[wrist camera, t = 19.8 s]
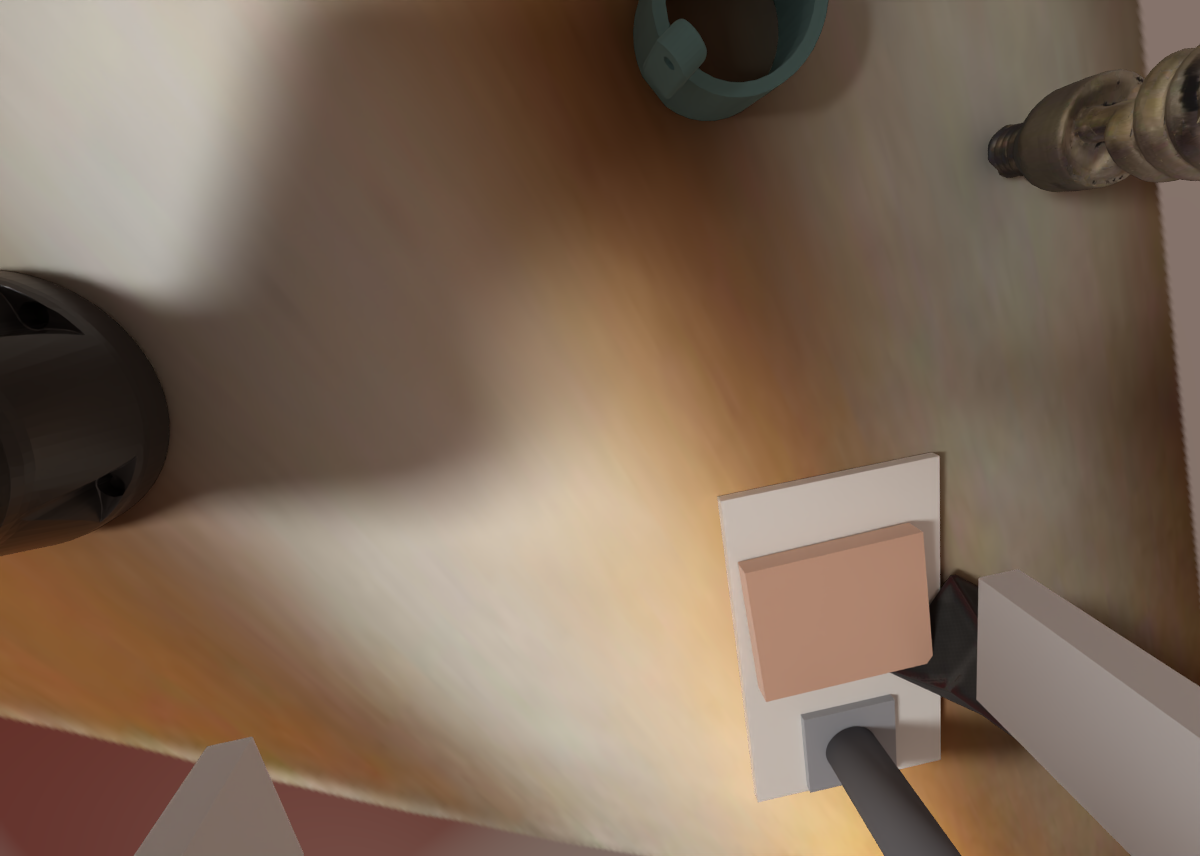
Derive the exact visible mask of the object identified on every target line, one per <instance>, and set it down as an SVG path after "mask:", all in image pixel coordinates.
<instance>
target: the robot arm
mask: <svg viewBox="0 0 1200 856" xmlns="http://www.w3.org/2000/svg"><path fill="white" fill-rule="evenodd" d="M168 443H169V416H168V409H167V404H166V400H165V397H164V393H163V390H162V388H161V385H160V382H159V380H158V378H157V376H156V374H155V372H154V370H153V368H152V366H151V364H150V363H149V361H148V359H147V358H146V356H145V355H144V353H143V352H142V351H141V349H140V348H139V346H138V345H137V344H136V343H135V342H134V340H133V339H132V338H131V337H130V336H129V335H128V334H127V333H126V331H125V330H124V329H123V328H122V327H121V326H119V325H118V324H117V323H116V322H115V321H114V320H113V319H112V318H111V317H109V316H108V315H107V314H106V313H105V312H103V311H102V310H100V309H99V308H98V307H96V306H95V305H93V304H92V303H90V302H89V301H87V300H86V299H84V298H82V297H81V296H79V295H77V294H75V293H73V292H71V291H69V290H67V289H65V288H63V287H61V286H58V285H56V284H54V283H51V282H48V281H46V280H43V279H40V278H36V277H33V276H29V275H25V274H20V273H16V272H9V271H0V556H3V555H8V554H13V553H18V552H22V551H27V550H32V549H37V548H42V547H47V546H52V545H56V544H60V543H64V542H67V541H70V540H73V539H75V538H78V537H81V536H83V535H86V534H88V533H90V532H92V531H94V530H96V529H98V528H99V527H101V526H103V525H104V524H106V523H108V522H109V521H111V520H112V519H114V518H116V517H117V516H119V515H121V514H122V513H124V512H125V511H127V510H128V509H130V508H131V507H132V506H133V505H135V504H136V503H137V502H138V501H139V500H140V499H141V498H142V497H143V496H144V495H145V494H146V493H147V492H148V490H149V489H150V488H151V486H152V485H153V484H154V482H155V480H156V479H157V477H158V475H159V473H160V471H161V469H162V466H163V464H164V461H165V458H166V454H167V450H168ZM976 700H977V701H978V702H979V703H980V704H981V705H982V706H983V707H984V708H985V709H986V710H987V711H988V712H989V713H990V714H991V715H992V716H993V717H994V718H995V719H996V720H997V721H998V722H999V723H1000V724H1001V725H1002V726H1003V727H1004V728H1005V729H1006V730H1007V731H1008V732H1009V733H1010V734H1011V735H1012V736H1013V737H1014V738H1015V739H1016V740H1017V741H1018V742H1019V743H1020V744H1021V745H1022V746H1023V747H1024V748H1025V749H1026V750H1027V751H1028V752H1029V753H1030V754H1031V755H1032V756H1033V757H1034V758H1035V759H1036V760H1037V761H1038V762H1039V763H1040V764H1041V765H1042V766H1043V767H1044V768H1045V769H1046V770H1047V771H1048V772H1049V773H1050V774H1051V775H1052V776H1053V777H1054V778H1055V779H1056V780H1057V781H1058V782H1059V783H1060V784H1061V785H1062V786H1063V787H1064V788H1065V789H1066V790H1067V791H1068V792H1069V793H1070V794H1071V795H1072V796H1073V797H1074V798H1075V799H1076V800H1077V801H1078V802H1079V803H1080V804H1081V805H1082V806H1083V807H1084V808H1085V809H1086V810H1087V811H1088V812H1089V813H1090V814H1091V815H1092V816H1093V817H1094V818H1095V819H1096V820H1097V821H1098V822H1099V823H1100V824H1101V825H1102V826H1103V827H1104V828H1105V829H1106V830H1107V832H1108V833H1109V834H1110V835H1111V836H1112V837H1113V838H1114V839H1115V840H1116V841H1117V842H1118V843H1119V844H1120V845H1121V846H1122V847H1123V848H1124V849H1125V850H1126V851H1127V852H1128V853H1129V854H1130V855H1131V856H1200V687H1199V686H1198V685H1196V684H1195V683H1193V682H1192V681H1190V680H1189V679H1187V678H1186V677H1184V676H1182V675H1181V674H1179V673H1178V672H1176V671H1175V670H1173V669H1172V668H1170V667H1169V666H1167V665H1165V664H1164V663H1162V662H1161V661H1159V660H1158V659H1156V658H1155V657H1153V656H1152V655H1150V654H1149V653H1147V652H1145V651H1144V650H1142V649H1141V648H1139V647H1138V646H1136V645H1135V644H1133V643H1132V642H1130V641H1128V640H1127V639H1125V638H1124V637H1122V636H1121V635H1119V634H1118V633H1116V632H1115V631H1113V630H1111V629H1110V628H1108V627H1107V626H1105V625H1104V624H1102V623H1101V622H1099V621H1098V620H1096V619H1095V618H1093V617H1091V616H1090V615H1088V614H1087V613H1085V612H1084V611H1082V610H1081V609H1079V608H1078V607H1076V606H1074V605H1073V604H1071V603H1070V602H1068V601H1067V600H1065V599H1064V598H1062V597H1061V596H1059V595H1058V594H1056V593H1054V592H1053V591H1051V590H1050V589H1048V588H1047V587H1045V586H1044V585H1042V584H1041V583H1039V582H1037V581H1036V580H1034V579H1033V578H1031V577H1030V576H1028V575H1027V574H1025V573H1024V572H1022V571H1020V570H1019V569H1016V570H1012V571H1007V572H1003V573H998V574H994V575H989V576H984V577H980V578H979V585H978V640H977V695H976ZM303 855H304V854H303V851H302V849H301V847H300V844H299V842H298V840H297V837H296V835H295V833H294V831H293V829H292V826H291V824H290V821H289V819H288V817H287V815H286V812H285V810H284V808H283V805H282V803H281V801H280V799H279V796H278V794H277V792H276V790H275V787H274V785H273V783H272V780H271V778H270V776H269V774H268V771H267V769H266V767H265V764H264V762H263V760H262V758H261V755H260V753H259V751H258V748H257V746H256V744H255V742H254V739H253V737H249V738H244V739H240V740H235V741H231V742H226V743H221V744H217V745H212V746H208V747H207V748H206V749H205V750H204V752H203V753H202V755H201V756H200V758H199V759H198V761H197V762H196V764H195V765H194V767H193V768H192V770H191V771H190V773H189V775H188V776H187V777H186V779H185V781H184V782H183V783H182V785H181V786H180V788H179V789H178V791H177V792H176V794H175V795H174V797H173V798H172V800H171V801H170V803H169V804H168V806H167V807H166V809H165V810H164V812H163V813H162V815H161V816H160V818H159V819H158V821H157V822H156V824H155V825H154V827H153V828H152V830H151V831H150V833H149V834H148V836H147V837H146V838H145V840H144V841H143V843H142V844H141V846H140V847H139V849H138V850H137V852H136V854H135V855H134V856H303Z"/></svg>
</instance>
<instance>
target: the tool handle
mask: <svg viewBox="0 0 1200 856" xmlns="http://www.w3.org/2000/svg"><path fill="white" fill-rule="evenodd" d="M826 758H827V760H828V762H829V764H830V765H831V767H832V769H833V770H834V772H835V774H836V775H837V777H838V779H839V780H840V782H841V784H842V785H843V787H844V789H845V791H846V792H847V794H848V796H849V797H850V799H851V801H852V802H853V804H854V806H855V807H856V809H857V811H858V812H859V814H860V816H861V817H862V819H863V821H864V822H865V824H866V826H867V828H868V829H869V831H870V833H871V834H872V836H873V838H874V839H875V841H876V843H877V844H878V846H879V848H880V849H881V851H882V853H883V854H884V856H961V855H960V853H959V852H958V850H957V849H956V848H955V846H954V845H953V844H952V842H951V841H950V839H949V838H948V837H947V835H946V834H945V832H944V831H943V830H942V828H941V827H940V826H939V824H938V823H937V821H936V820H935V819H934V817H933V816H932V814H931V813H930V812H929V810H928V809H927V808H926V806H925V805H924V803H923V802H922V801H921V799H920V798H919V796H918V795H917V794H916V792H915V791H914V790H913V788H912V787H911V785H910V784H909V783H908V781H907V780H906V778H905V777H904V776H903V774H902V773H901V772H900V770H899V769H898V767H897V766H896V765H895V763H894V762H893V760H892V759H891V758H890V756H889V755H888V754H887V752H886V751H885V749H884V748H883V747H882V745H881V744H880V742H879V741H878V740H877V738H876V737H875V736H874V734H873V733H872V732H871V731H870V730H869V729H867V728H864V727H850V728H846V729H844V730H842V731H840V732H839V733H837V734H836V735H835V736H834V737H833V738H832V739H831V740H830V742H829V743H828V745H827V748H826Z"/></svg>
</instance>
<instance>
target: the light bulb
mask: <svg viewBox="0 0 1200 856" xmlns="http://www.w3.org/2000/svg"><path fill="white" fill-rule="evenodd" d="M988 160H989V162H990V163H991V164H992V165H993V166H994V167H995V168H996V169H997V170H998V172H999V175H1001V176H1004V177H1007V178H1011V177H1016V176H1024V177H1025V178H1026V179H1027V180H1028V181H1029V182H1030V183H1031V184H1032V185H1034V186H1036V187H1038V188H1040V189H1043V190H1047V191H1052V192H1062V191H1080V190H1089V189H1093V188H1101V187H1105V186H1109V185H1112V184H1115V183H1117V182H1119V181H1121V180H1123V179H1125V178H1126V177H1128V176H1130V175H1133V176H1135V177H1137V178H1139V179H1141V180H1144V181H1148V182H1169V181H1175V180H1179V179H1181V180H1190V181H1200V45H1199V46H1197V47H1196V48H1187V49H1182V50H1180V51H1177V52H1175V53H1172V54H1170V55H1169V56H1167V57H1165V58H1164V59H1163V60H1162V61H1161V62H1159V63H1158V64H1157V65H1156V66H1155V67H1154V68H1153V69H1152V70H1151V71H1150V73H1149V74H1148V75H1147V77H1146V78H1145V79H1144V78H1143V77H1142V76H1140V75H1139V74H1137V73H1135V72H1132V71H1127V70H1122V69H1119V70H1112V71H1106V72H1103V73H1100V74H1097V75H1093V76H1091V77H1088V78H1085V79H1083V80H1080V81H1078V82H1074V83H1072V84H1070V85H1067V86H1065V87H1062V88H1060V89H1057V90H1055V91H1054V92H1052V93H1051V94H1049V95H1047V96H1046V97H1045V98H1044V99H1043V100H1041V101H1040V102H1039V103H1038V104H1037V105H1036V106H1035V107H1034V108H1033V109H1032V110H1031V112H1030V113H1029V115H1028V116H1027V118H1026V119H1025V121H1024V123H1021V124H1015V125H1006V126H1004V127H1003V128H1002V129H1000V130H999V131H998V132H997V133H996V134H995V135H994V136H993V137H992V138H991V140H990V142H989V145H988Z"/></svg>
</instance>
